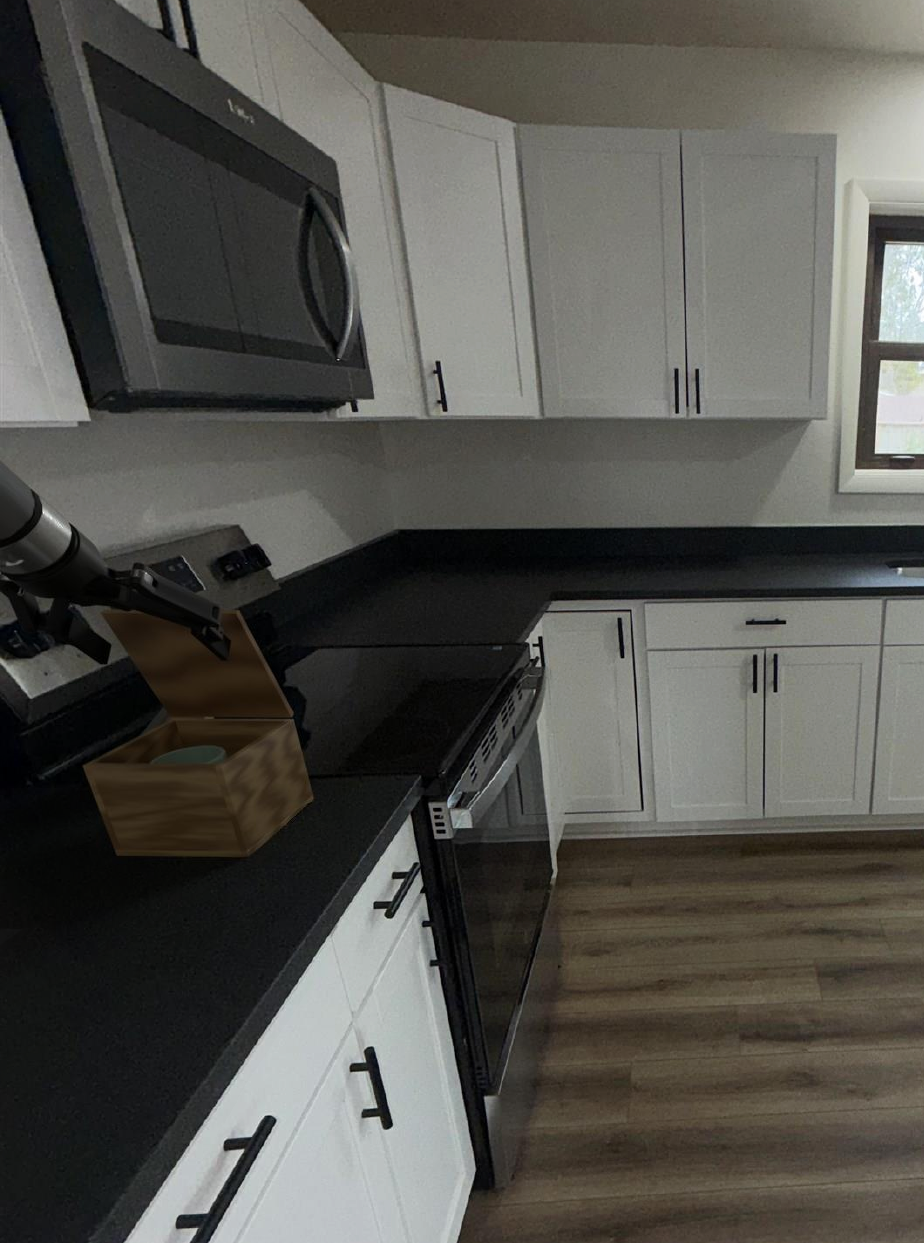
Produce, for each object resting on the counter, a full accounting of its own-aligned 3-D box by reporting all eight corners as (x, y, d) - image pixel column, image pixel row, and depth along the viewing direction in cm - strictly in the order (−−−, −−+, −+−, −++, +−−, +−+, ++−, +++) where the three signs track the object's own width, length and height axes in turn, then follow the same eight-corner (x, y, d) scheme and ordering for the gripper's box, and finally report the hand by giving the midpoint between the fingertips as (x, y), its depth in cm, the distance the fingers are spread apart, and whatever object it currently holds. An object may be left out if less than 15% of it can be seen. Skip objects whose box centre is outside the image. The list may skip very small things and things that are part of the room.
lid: (235, 613, 96) (238, 609, 97) (100, 613, 97) (104, 609, 97) (291, 717, 108) (294, 713, 108) (170, 716, 108) (173, 713, 109)
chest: (248, 857, 99) (221, 766, 94) (116, 856, 99) (82, 765, 94) (314, 800, 113) (293, 718, 108) (199, 799, 114) (172, 718, 109)
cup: (159, 843, 101) (132, 771, 96) (200, 813, 108) (177, 745, 104) (221, 843, 100) (198, 771, 96) (258, 813, 108) (238, 745, 103)
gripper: (-122, 581, 74) (47, 684, 94) (164, 575, 77) (271, 676, 97) (-99, 515, 77) (61, 628, 97) (178, 510, 80) (279, 622, 99)
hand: (167, 652), depth 97 cm, fingers open, 13 cm apart
